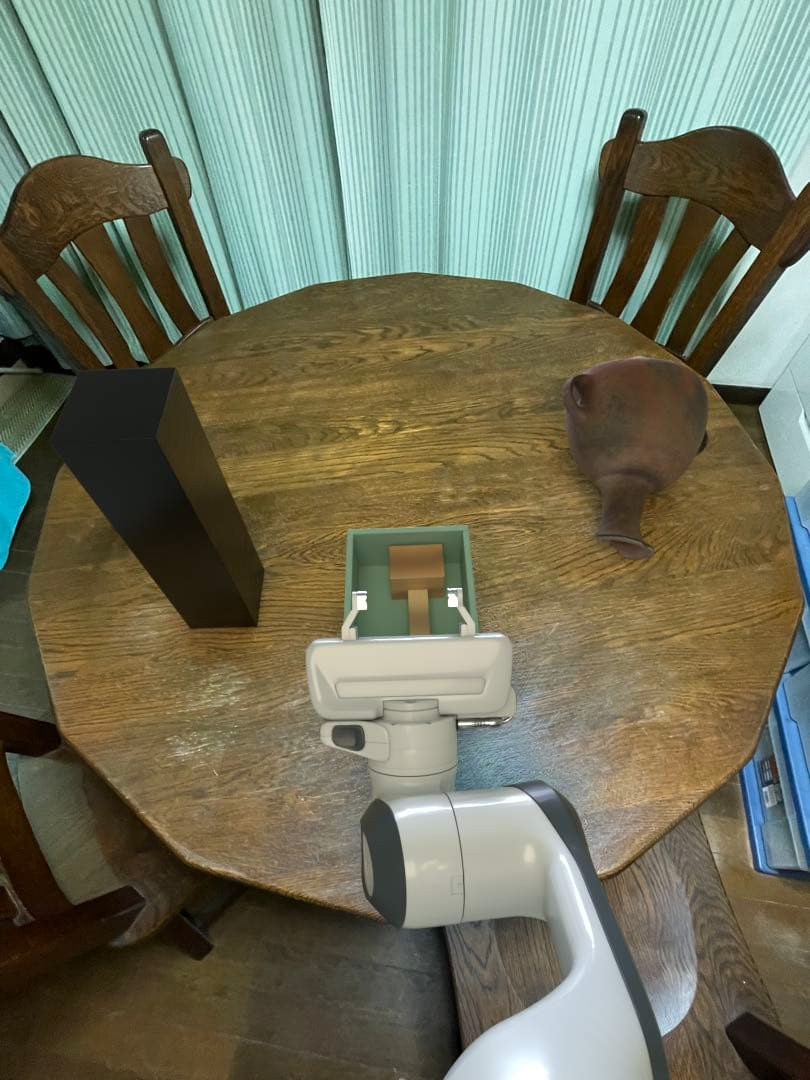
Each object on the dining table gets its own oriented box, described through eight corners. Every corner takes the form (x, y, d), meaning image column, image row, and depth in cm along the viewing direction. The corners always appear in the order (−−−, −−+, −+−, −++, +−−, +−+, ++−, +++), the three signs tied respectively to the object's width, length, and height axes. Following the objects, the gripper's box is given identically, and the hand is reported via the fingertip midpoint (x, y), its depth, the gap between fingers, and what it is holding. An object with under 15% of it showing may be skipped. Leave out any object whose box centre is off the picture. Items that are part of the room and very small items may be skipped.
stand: (257, 626, 79) (155, 438, 49) (190, 629, 79) (48, 442, 49) (264, 569, 84) (176, 366, 54) (201, 571, 84) (79, 370, 54)
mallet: (449, 668, 73) (451, 650, 69) (393, 671, 73) (391, 653, 69) (441, 565, 82) (442, 543, 77) (390, 568, 82) (388, 545, 77)
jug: (575, 406, 100) (545, 565, 89) (572, 318, 84) (535, 499, 72) (707, 411, 93) (693, 584, 82) (732, 315, 77) (720, 517, 65)
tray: (478, 715, 71) (484, 688, 64) (349, 719, 72) (340, 692, 64) (464, 564, 84) (468, 525, 76) (354, 567, 84) (347, 529, 76)
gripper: (523, 736, 55) (516, 586, 56) (303, 743, 55) (300, 593, 56) (512, 720, 61) (506, 586, 62) (314, 726, 61) (311, 592, 62)
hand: (407, 589), depth 59 cm, fingers open, 8 cm apart
